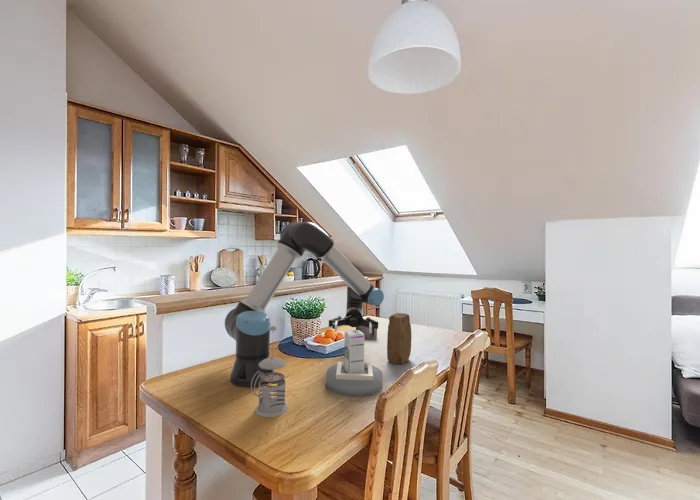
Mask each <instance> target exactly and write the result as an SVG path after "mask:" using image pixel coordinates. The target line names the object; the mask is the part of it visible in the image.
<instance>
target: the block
mask: <svg viewBox="0 0 700 500" xmlns="http://www.w3.org/2000/svg"><path fill="white" fill-rule="evenodd" d="M411 352H412V325H411V320H410V314H408V313H405V312H404V313H403V312H402V313H401V312H397V313H394V314H391V315H390V316H389V318H388V327H387V341H386V354H387V355H386V357H387V361H388V362H390V363H392V364H396V365H403V364H406V363H407V362H408V360H409V358H410V356H411Z"/></svg>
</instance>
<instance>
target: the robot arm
mask: <svg viewBox="0 0 700 500" xmlns="http://www.w3.org/2000/svg"><path fill="white" fill-rule="evenodd" d="M276 245H277V250H276V251H275V253H274V255H273V256H272V258H271V259H270V260H269V262H268V264H267V265H266V267H265V268H264V270H263V272H262V273H261V274H260V276H259V278H258V279H257V281H256V283H255V284H254V285H253V287H252V289H251V290H250V292H249V293H248V295H247V297H246V298H245V299H241V300H239V302H238V304H237V305H236V307H234V308H233V309H231V310H229V312H228V313H227V314H226V316H225V318H224V328H225V331H226V332H227V334H228V335H229V337H231V338H232V339H233V340H234V341H235V360H234V363H233V365H232V369H231V373H230V377H229V378H230V379H229V380H230V383H231V384H232V385H234V386H237V387H244V388H249V387H250V388H251V382H252V388H254V384H255V381H256V379H257V377H258V375H260V374H261V373H263V374H265V373H272V370H266V369H262V368H260V367H259V363H260V362H261V361H262V360H264V359H267V358H271V357H270V343H271V342H270V341H271V340H270V339H271V338H270V337H271V330H270V327H271V319H270V316H269V314H267V313H266V308H267V307H268V305H269V304H270V302H271V300H272V299H273V297H274V296H275V294H276V292H277V291H278V289H279V287H280V286H281V284H282V282H283V281H284V280H285V278H286V276H287V274H288V272H289V271H290V269H291V268H292V266H293V265H294V262H295V261H297V260H300V259H301V258H302V257H303V255H304V254H305V252H306V251H307V252H309V253H311V254H312V255H314V257H315V258H316V259H321V260H322V261H323V262H324V263H325V264H326V265H327V266H328V267H329V268H330V269H331V270H332V271H333V272H334V273H335V274H336V275H337V276H338V277H339V278H340V279H341V280H343V282H344V283H345V284H346V285H347V286H346V289H347V290H346V310H345V311H346V312H345V316H344V318H343V317H342V316H341V315H338V316H337V317H334V318H331V319H328V327H331V328H332V329H333V330H334V333H337V331H338V327H342V326H346V327H347V326H348V327H351V328H356V327H357V326H365V327H368V328H369V332H370V333H372V330H374V328H376V329H377V330H378V329H379V322H378V321H376V320H375V319H372V318H370V316H367V317H366V318H364V317H363V303H364V304H367V305H370V306H379V305H381V304H382V303H383V301H384V299H385V294H384V292H383V290H382V289H381V288H377V287H375V286H374V285H373V284H372V283H371V282H370V281H369V280H368V279H367V278H366V276H364V275H363V274H362V273H361V272H360V271H359V270H358V269H357V267H356V266H355V265H354V264H353V263H352V262H351V260H349V259H348V258H347V257H346V255H344V254H343V253H342V252H341V251H340V250H339V248H337V246H335V241H334V239H332V237H331V236H330V235H329V234H328V233H326V231H324V230H323V229H322V228H321V227H320V226H318V225H317V224H316V223H314V222H311V221H299V222H298V221H294V222H290V223H288V224H286V225H285V226H284V227H283V228H282V229H281V231H280V234H279V240H278V241H277V243H276ZM258 371H260V374H259V372H258ZM257 372H258V373H257ZM274 372H275V369H273V373H274ZM256 373H257V374H256ZM255 374H256V375H255ZM263 374H261V376H262V375H263ZM254 375H255V377H254V379H253V376H254ZM261 376H259V377H258V379H257V381H256V384H255V387H259V381H260V377H261ZM252 379H253V381H252ZM263 384H266V385H267V383H266V382H262V383H261V384H260V385H263Z"/></svg>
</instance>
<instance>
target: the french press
mask: <svg viewBox="0 0 700 500" xmlns="http://www.w3.org/2000/svg"><path fill="white" fill-rule="evenodd" d="M276 330H277V327H276V326H275V325H270V332H274V331H276ZM271 344H272V349H271V350H272V351H271V353H272V355H271V357H270V358H267V359H264V360H262V361H261V362H260V363H259V367H260V368H262V369H266V370H272V373H265V374H263V373H261V374H263V375H262V376H261V374H260V371H258V372H259V374H260V375H258V377H259V376H261V377H260V381H259V386H258V394H257V392H256V386H255V384H256V381H257V379H258V377H257V379H256V381H255V384H254V387H252V382H251V387H250V390H251V391H250V392H251V393H252V395H254V396H256V397H257V398H258V405H257V406H256V407H255V408H254V413H255V414H256V415H257V416H260V417H263V418H275V417H280V416H282V415H284V414H285V413H287V412H288V410H289V406H288V404H287V403H286V379H285V374H283V373H281V372H277V371H274V373H273V369H274V370H279V369H282V368H284V367H285V366H286V365H287V361H286V360H285V359H282V358H280V357H278V356H277V357H275V356H274V342H272V343H271ZM258 372H257V373H258ZM257 373H256V374H257ZM256 374H255V375H256ZM255 375H254V376H253V379H254V377H255ZM253 379H252V381H253ZM262 382H266V384H263V385H260V384H261V383H262ZM270 384H271V385H270ZM272 384H274V385H272ZM276 384H277V385H276Z"/></svg>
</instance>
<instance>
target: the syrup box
mask: <svg viewBox="0 0 700 500" xmlns="http://www.w3.org/2000/svg"><path fill="white" fill-rule="evenodd" d="M343 350H344V355H343V356H344V358H343V362H344V370H345V372H346V373H349V374H364V362H365V337H364V334H363V333H362V332H361V331H359V330H356V329H351V330H350V329H349V330H345V331H344V349H343Z"/></svg>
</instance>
